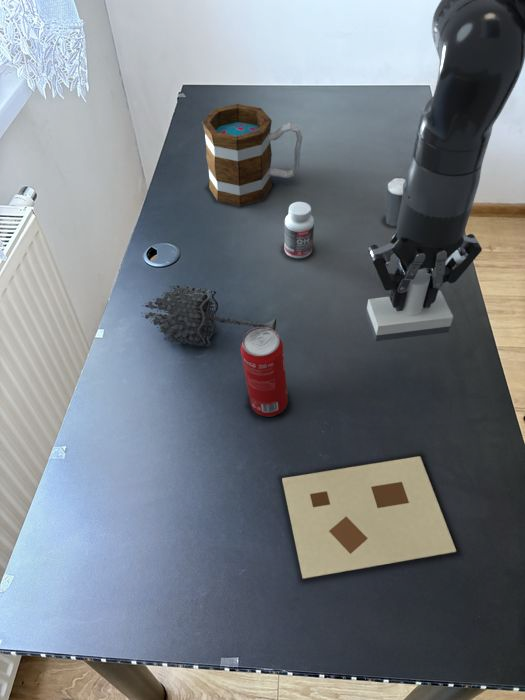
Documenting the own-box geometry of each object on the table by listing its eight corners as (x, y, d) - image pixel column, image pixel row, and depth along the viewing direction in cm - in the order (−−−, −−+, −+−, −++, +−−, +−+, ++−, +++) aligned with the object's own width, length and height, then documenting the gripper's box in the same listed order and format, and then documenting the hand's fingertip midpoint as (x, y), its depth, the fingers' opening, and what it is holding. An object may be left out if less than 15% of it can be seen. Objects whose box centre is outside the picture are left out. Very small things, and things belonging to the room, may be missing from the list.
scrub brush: (436, 305, 83) (449, 259, 76) (448, 332, 79) (463, 286, 73) (365, 314, 82) (373, 268, 75) (375, 341, 79) (384, 295, 72)
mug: (207, 207, 123) (200, 140, 112) (210, 169, 132) (203, 104, 121) (302, 204, 123) (305, 138, 112) (298, 167, 132) (300, 102, 120)
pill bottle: (299, 263, 112) (301, 221, 104) (278, 250, 114) (278, 208, 107) (318, 249, 114) (321, 207, 107) (296, 237, 117) (298, 195, 109)
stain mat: (419, 456, 85) (420, 456, 85) (456, 552, 76) (456, 551, 76) (281, 478, 83) (282, 478, 83) (302, 579, 74) (302, 578, 74)
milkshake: (375, 216, 120) (381, 173, 113) (400, 212, 121) (408, 169, 113) (382, 230, 117) (389, 187, 110) (408, 226, 118) (417, 183, 110)
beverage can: (294, 408, 91) (296, 344, 79) (257, 426, 89) (254, 363, 77) (274, 381, 94) (274, 316, 83) (238, 398, 92) (232, 334, 81)
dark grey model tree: (269, 367, 96) (268, 328, 89) (139, 349, 99) (128, 310, 92) (279, 325, 102) (279, 285, 95) (156, 309, 105) (147, 269, 98)
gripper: (385, 222, 62) (366, 332, 75) (514, 207, 63) (473, 319, 76) (366, 180, 66) (351, 291, 80) (487, 167, 68) (452, 279, 81)
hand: (411, 304), depth 78 cm, fingers closed on scrub brush, 3 cm apart
